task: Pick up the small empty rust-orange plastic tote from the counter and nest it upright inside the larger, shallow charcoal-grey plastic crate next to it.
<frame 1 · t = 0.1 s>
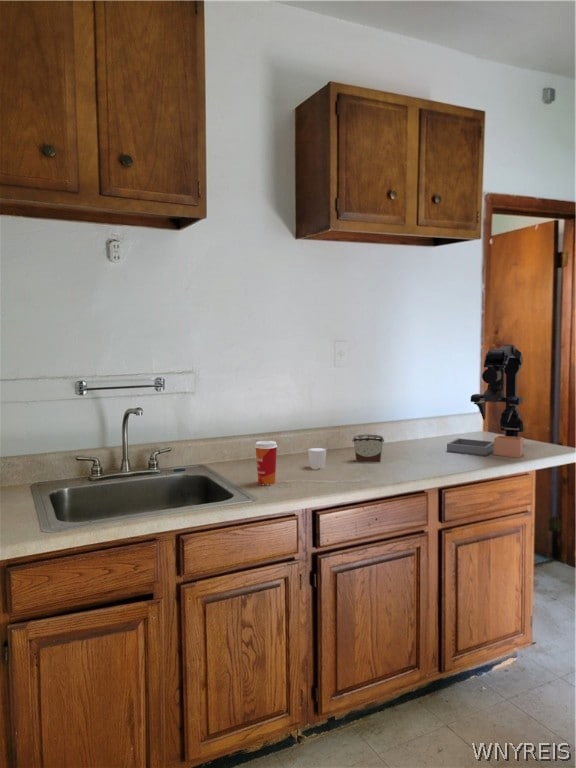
hand: (495, 420, 228), 14 cm above the worktop, fingers open, 9 cm apart
food container: (367, 461, 225), on the worktop
crate: (471, 451, 240), on the worktop
paper cup: (266, 484, 194), on the worktop
white ribbed cup: (317, 468, 215), on the worktop
tote: (508, 454, 232), on the worktop
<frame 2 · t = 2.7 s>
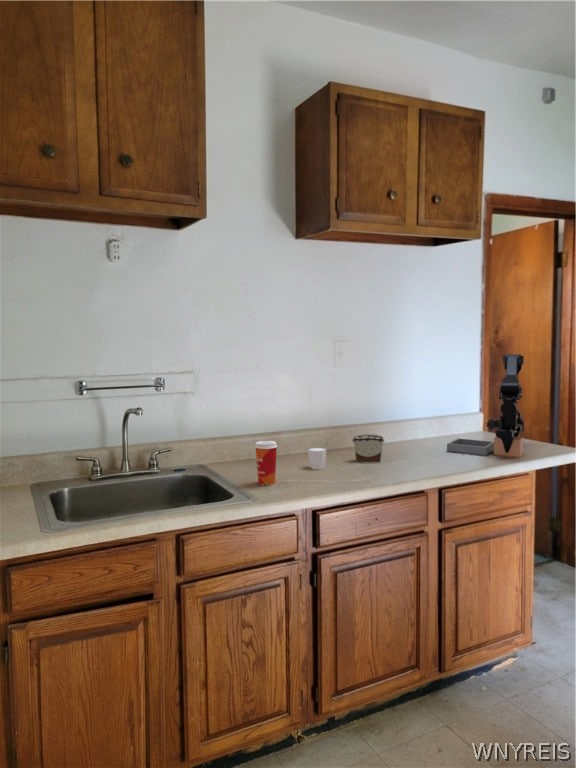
hand: (508, 451, 232), 2 cm above the worktop, fingers closed on tote, 6 cm apart
tote: (508, 454, 232), on the worktop, touching gripper
everything else where it was.
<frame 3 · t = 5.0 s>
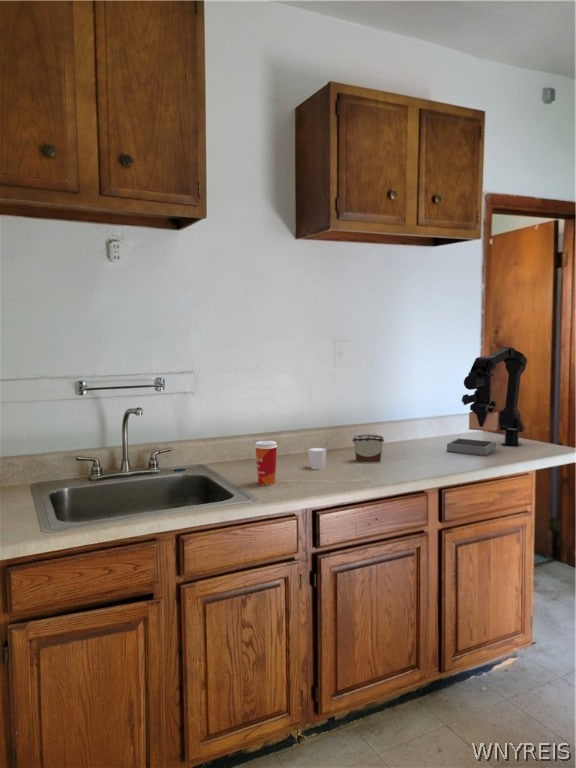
hand: (483, 425, 237), 11 cm above the worktop, fingers closed on tote, 6 cm apart
tote: (483, 429, 237), point 10 cm above the worktop, touching gripper
everything else where it was.
when the fingers open (4 cm above the worktop, at t = 7.5 s): tote drops 2 cm, resting on crate.
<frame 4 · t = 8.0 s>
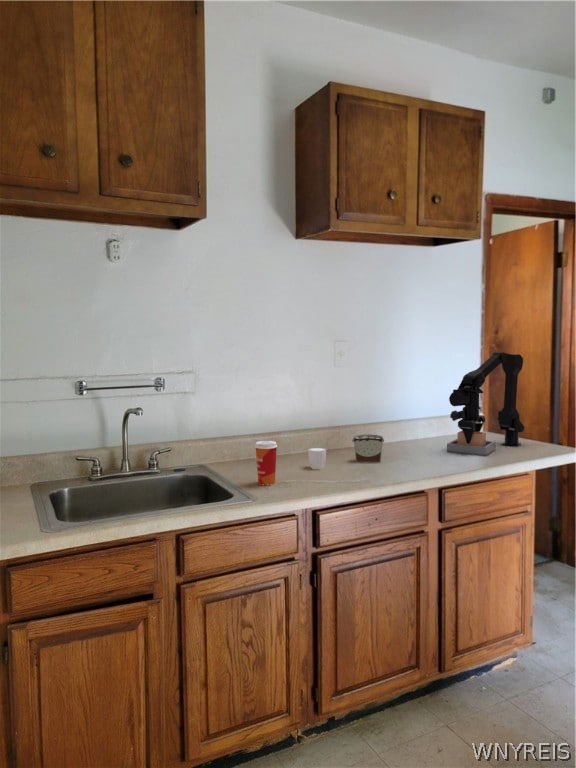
hand: (471, 441, 240), 4 cm above the worktop, fingers open, 9 cm apart
tote: (471, 449, 240), point 1 cm above the worktop, touching crate
everything else where it was.
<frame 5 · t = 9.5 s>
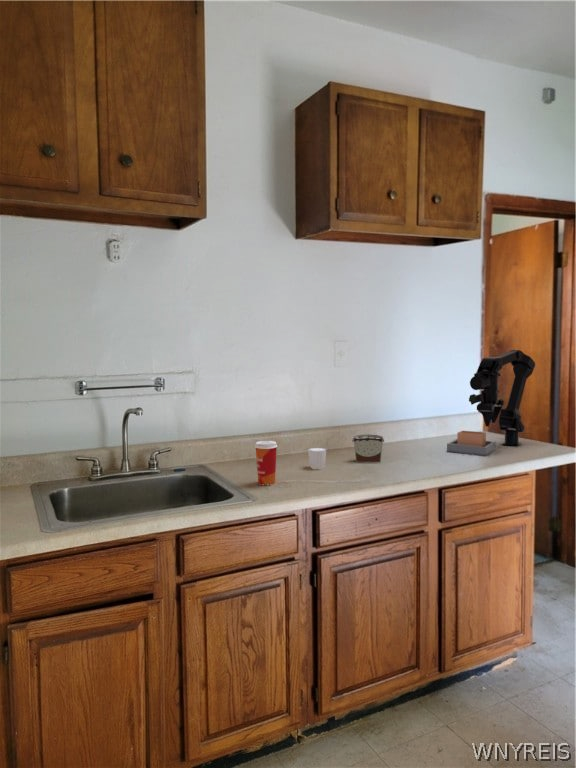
hand: (490, 424, 242), 11 cm above the worktop, fingers open, 9 cm apart
nothing on the worktop moved.
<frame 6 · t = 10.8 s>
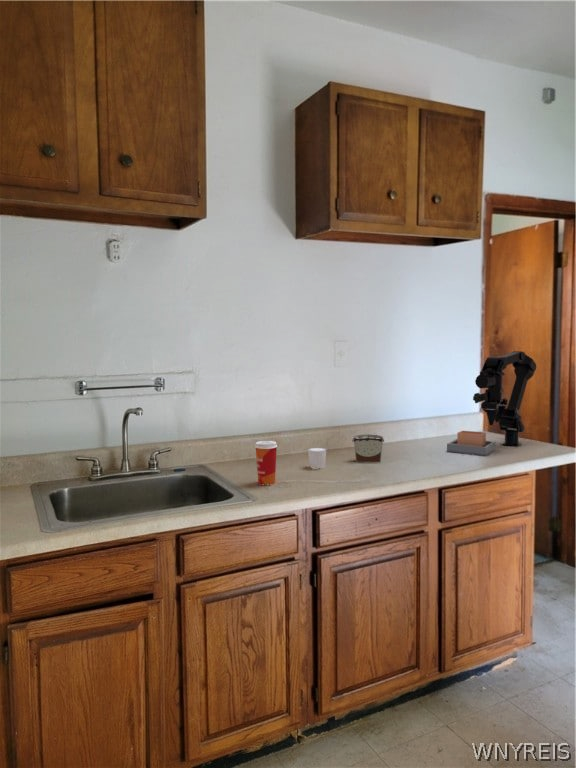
hand: (494, 423, 242), 11 cm above the worktop, fingers open, 9 cm apart
nothing on the worktop moved.
at the end: tote 0.0 cm off-centre on the crate, point 0.8 cm above the crate's base; tote tilted 0°; the gripper is holding nothing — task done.
